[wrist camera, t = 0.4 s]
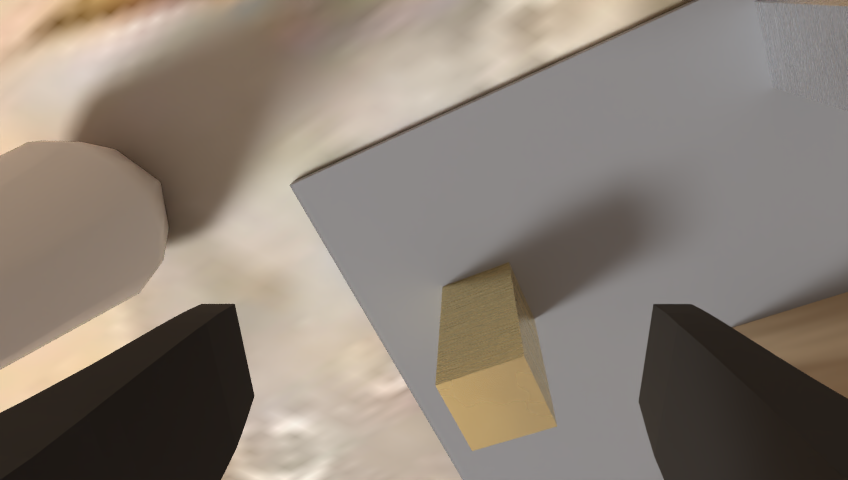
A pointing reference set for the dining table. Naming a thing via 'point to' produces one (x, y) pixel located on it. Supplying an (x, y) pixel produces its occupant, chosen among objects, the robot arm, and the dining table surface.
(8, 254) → the salt shaker
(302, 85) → the dining table surface
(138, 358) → the robot arm
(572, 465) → the slate mat
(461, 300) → the brass post
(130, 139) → the dining table surface
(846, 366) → the wood block
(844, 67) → the steel post
